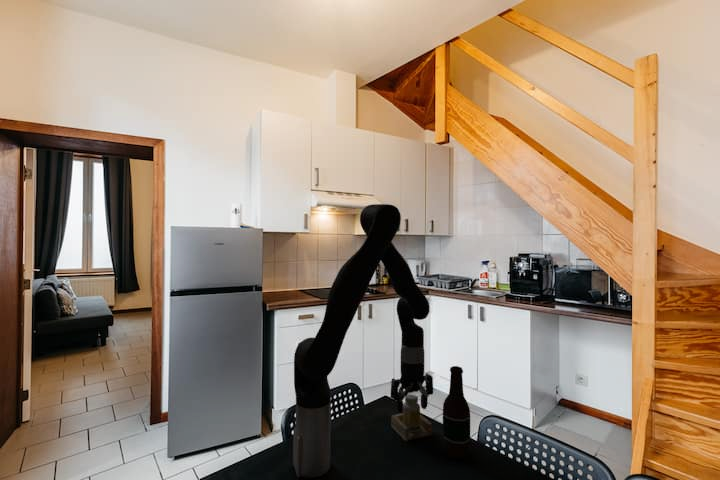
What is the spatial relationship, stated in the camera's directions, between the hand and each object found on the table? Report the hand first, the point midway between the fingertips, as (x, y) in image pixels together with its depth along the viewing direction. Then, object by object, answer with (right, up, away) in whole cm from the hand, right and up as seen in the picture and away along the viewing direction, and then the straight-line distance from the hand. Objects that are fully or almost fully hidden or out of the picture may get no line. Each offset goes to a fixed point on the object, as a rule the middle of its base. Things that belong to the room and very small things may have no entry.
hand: (412, 410), depth 111 cm
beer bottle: (+11, -7, -11) cm, 17 cm away
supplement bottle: (0, -6, 0) cm, 6 cm away
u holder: (0, -7, 0) cm, 7 cm away
